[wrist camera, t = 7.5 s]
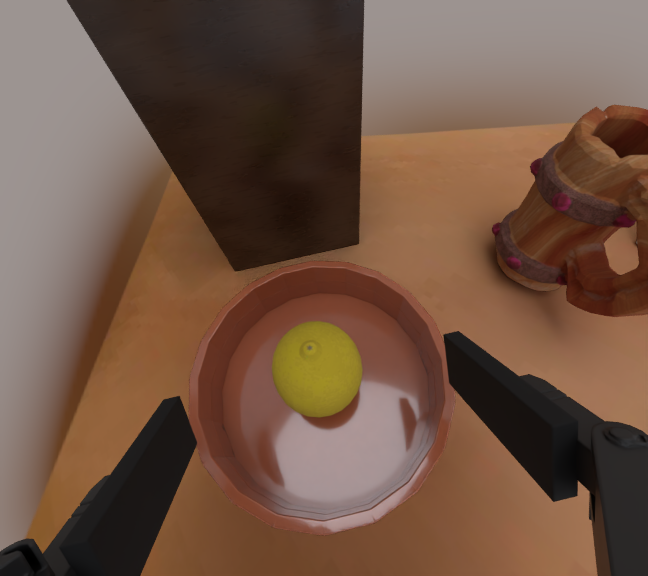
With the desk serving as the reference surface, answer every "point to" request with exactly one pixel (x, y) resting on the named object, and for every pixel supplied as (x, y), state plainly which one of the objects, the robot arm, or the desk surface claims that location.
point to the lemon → (317, 369)
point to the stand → (248, 112)
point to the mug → (584, 215)
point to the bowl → (331, 431)
